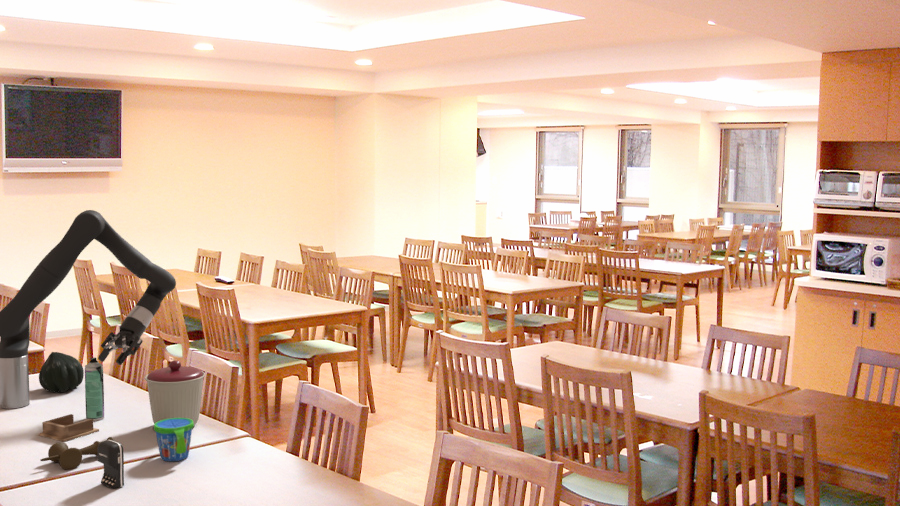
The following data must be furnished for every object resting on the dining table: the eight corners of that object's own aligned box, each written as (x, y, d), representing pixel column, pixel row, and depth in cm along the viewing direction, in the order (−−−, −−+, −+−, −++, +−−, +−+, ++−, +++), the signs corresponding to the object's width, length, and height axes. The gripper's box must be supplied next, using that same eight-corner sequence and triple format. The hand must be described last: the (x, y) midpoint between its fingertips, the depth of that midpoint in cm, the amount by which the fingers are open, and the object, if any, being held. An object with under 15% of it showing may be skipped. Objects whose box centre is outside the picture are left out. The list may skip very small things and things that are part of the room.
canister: (159, 439, 247) (158, 370, 245) (136, 424, 261) (135, 359, 259) (215, 427, 259) (214, 361, 257) (191, 414, 273) (190, 352, 271)
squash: (97, 373, 303) (76, 341, 306) (63, 384, 290) (41, 350, 292) (78, 395, 309) (57, 363, 311) (44, 406, 295) (22, 373, 298)
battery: (96, 484, 211) (94, 441, 210) (109, 480, 214) (108, 437, 213) (111, 491, 207) (110, 447, 206) (125, 486, 210) (124, 443, 209)
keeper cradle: (38, 435, 249) (38, 422, 249) (73, 425, 260) (73, 412, 260) (64, 441, 244) (64, 428, 243) (99, 431, 254) (98, 418, 254)
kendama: (121, 459, 232) (47, 475, 217) (106, 452, 238) (33, 467, 224) (121, 438, 231) (47, 453, 217) (106, 431, 238) (33, 445, 223)
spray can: (107, 416, 269) (106, 356, 267) (98, 421, 264) (97, 360, 262) (91, 415, 270) (90, 355, 268) (82, 420, 264) (80, 359, 263)
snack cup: (151, 451, 236) (150, 417, 235) (189, 447, 241) (189, 413, 240) (158, 469, 222) (157, 433, 221) (198, 464, 227) (197, 428, 226)
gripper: (115, 313, 280) (87, 353, 271) (145, 317, 273) (117, 358, 264) (128, 326, 285) (101, 365, 276) (157, 330, 279) (130, 371, 270)
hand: (109, 361), depth 270 cm, fingers open, 8 cm apart
